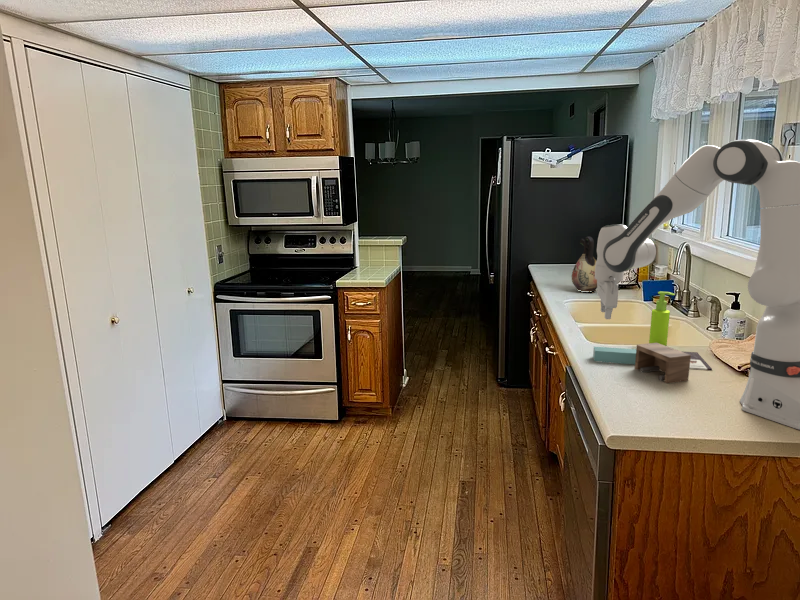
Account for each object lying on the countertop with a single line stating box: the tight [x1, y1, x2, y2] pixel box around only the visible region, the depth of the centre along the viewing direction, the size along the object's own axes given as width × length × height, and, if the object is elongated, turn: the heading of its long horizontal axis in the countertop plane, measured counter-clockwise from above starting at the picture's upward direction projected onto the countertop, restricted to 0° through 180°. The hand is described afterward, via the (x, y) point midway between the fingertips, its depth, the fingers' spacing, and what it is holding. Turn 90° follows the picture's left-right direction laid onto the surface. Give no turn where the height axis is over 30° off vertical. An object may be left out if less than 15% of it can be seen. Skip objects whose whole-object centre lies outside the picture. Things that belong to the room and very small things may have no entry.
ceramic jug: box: [571, 236, 597, 292], centre depth 302 cm, size 17×15×30 cm
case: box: [592, 346, 636, 365], centre depth 191 cm, size 14×5×4 cm, turn 76°
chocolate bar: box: [681, 350, 713, 371], centre depth 190 cm, size 9×1×18 cm
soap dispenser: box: [648, 291, 676, 347], centre depth 205 cm, size 6×7×20 cm
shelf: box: [634, 342, 691, 384], centre depth 176 cm, size 14×8×8 cm, turn 18°
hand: (605, 315), depth 189 cm, fingers open, 8 cm apart
